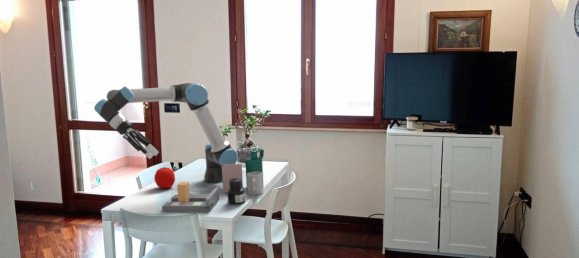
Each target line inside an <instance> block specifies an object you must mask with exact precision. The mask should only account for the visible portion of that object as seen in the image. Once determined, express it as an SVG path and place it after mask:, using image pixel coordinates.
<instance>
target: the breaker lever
mask: <svg viewBox="0 0 579 258" xmlns="http://www.w3.org/2000/svg"><path fill="white" fill-rule="evenodd" d="M189 186H190V183H189V181H180V182H179V183H178V184H177V185H176V188H177V194H178V202H189V201H190V197H189V194H190V187H189Z"/></svg>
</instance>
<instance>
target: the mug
mask: <svg viewBox="0 0 579 258" xmlns="http://www.w3.org/2000/svg"><path fill="white" fill-rule="evenodd" d="M263 187H264V182H263V183H262V173H261V172H250V173H247V185H246V189H247V195H250V196H251V195H252V196H258V195H262V194H263V193H264V188H263Z"/></svg>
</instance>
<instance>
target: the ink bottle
mask: <svg viewBox="0 0 579 258" xmlns="http://www.w3.org/2000/svg"><path fill="white" fill-rule="evenodd" d="M229 187H230V188H229V189H228V192H227V203H228V205H229V204H230V205H242V204H244V203H245V202H246V190H245V188H244V187H243V188H242V179H240V178H234V179H230V180H229Z"/></svg>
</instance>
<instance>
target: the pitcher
mask: <svg viewBox="0 0 579 258" xmlns="http://www.w3.org/2000/svg"><path fill="white" fill-rule="evenodd" d="M248 152H249V153H250V157H247V158H245V161H244V163H245V182H246V183H245V184H246V186H247V173H250V172H261V173H262V183H263V184H264V168H263V167H264V166H263V165H264V164H263V163H264V162H263V159H264V154H265V150H264V148H258V149H250V150H248ZM257 153H259V155H258V154H257ZM257 155H258V156H257Z"/></svg>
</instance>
